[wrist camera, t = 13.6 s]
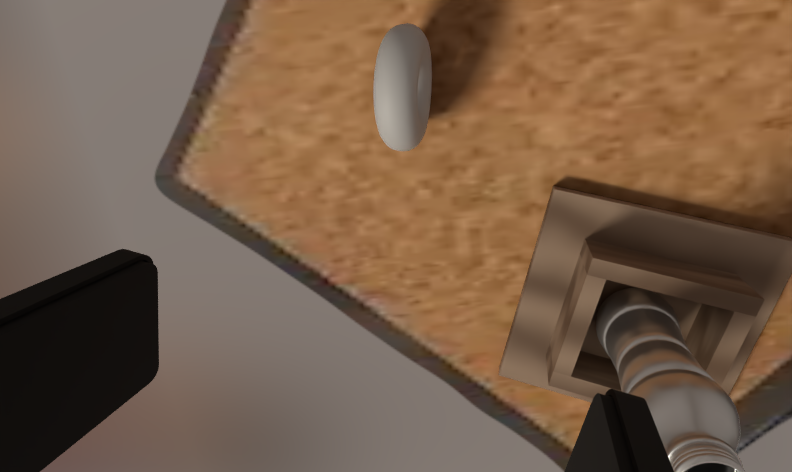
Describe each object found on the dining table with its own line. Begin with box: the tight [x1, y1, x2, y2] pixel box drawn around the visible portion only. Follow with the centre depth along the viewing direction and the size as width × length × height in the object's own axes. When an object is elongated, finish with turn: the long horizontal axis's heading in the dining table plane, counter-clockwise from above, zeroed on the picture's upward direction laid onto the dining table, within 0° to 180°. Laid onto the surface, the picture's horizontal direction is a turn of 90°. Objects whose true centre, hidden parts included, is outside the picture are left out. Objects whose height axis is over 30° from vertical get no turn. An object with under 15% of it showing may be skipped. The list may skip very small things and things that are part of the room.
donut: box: [374, 23, 432, 151], centre depth 38 cm, size 10×3×10 cm, turn 178°
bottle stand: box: [499, 186, 792, 403], centre depth 41 cm, size 20×20×6 cm
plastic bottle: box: [596, 288, 745, 472], centre depth 33 cm, size 6×7×20 cm
